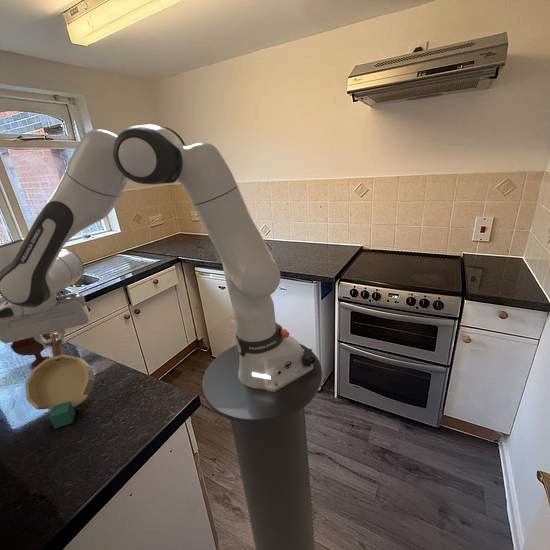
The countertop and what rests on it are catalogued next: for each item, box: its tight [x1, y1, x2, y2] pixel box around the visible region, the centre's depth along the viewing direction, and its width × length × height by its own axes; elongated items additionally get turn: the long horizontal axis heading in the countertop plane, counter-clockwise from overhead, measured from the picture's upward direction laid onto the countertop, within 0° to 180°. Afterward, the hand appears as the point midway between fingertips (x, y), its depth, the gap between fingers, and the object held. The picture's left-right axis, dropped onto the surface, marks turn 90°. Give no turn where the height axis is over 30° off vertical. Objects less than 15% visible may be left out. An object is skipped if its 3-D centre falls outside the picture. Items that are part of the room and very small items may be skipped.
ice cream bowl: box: [10, 333, 51, 368], centre depth 102 cm, size 11×11×15 cm
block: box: [48, 401, 76, 429], centre depth 78 cm, size 4×4×4 cm
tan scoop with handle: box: [24, 332, 95, 411], centre depth 82 cm, size 14×21×6 cm
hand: (55, 345), depth 83 cm, fingers closed on tan scoop with handle, 2 cm apart
